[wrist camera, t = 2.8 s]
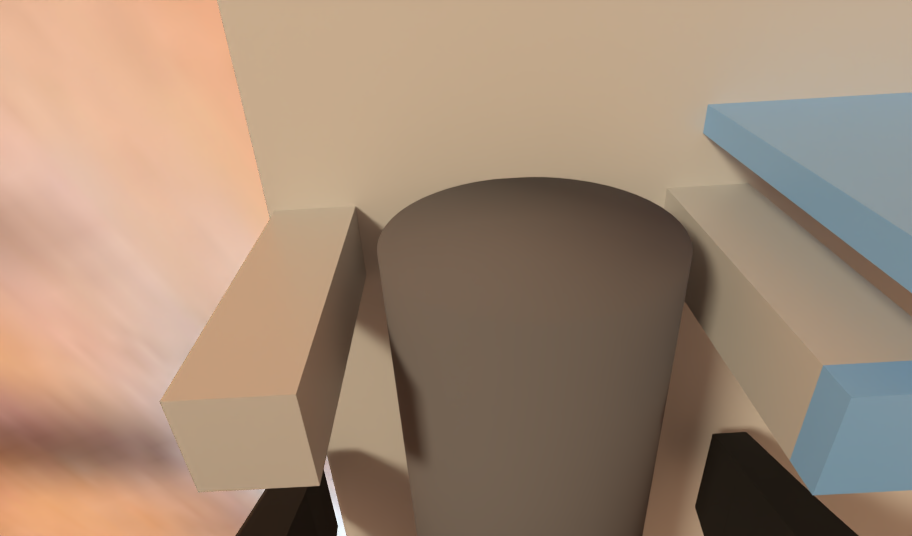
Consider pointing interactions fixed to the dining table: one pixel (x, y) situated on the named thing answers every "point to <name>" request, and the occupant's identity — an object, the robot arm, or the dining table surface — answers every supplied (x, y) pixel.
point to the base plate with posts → (588, 159)
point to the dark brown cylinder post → (532, 353)
